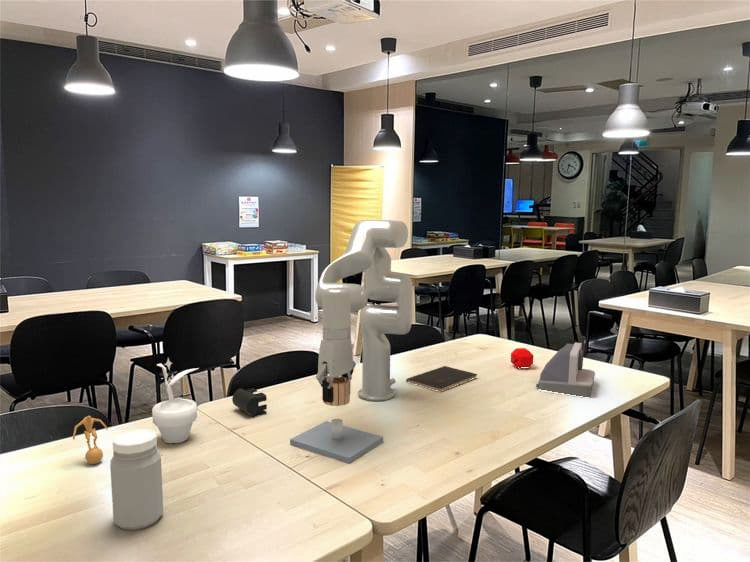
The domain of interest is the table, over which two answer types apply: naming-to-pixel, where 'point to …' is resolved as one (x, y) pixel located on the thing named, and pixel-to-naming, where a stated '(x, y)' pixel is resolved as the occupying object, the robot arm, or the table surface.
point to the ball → (522, 357)
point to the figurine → (94, 453)
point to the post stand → (337, 441)
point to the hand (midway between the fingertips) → (336, 397)
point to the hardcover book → (441, 378)
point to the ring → (340, 391)
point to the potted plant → (174, 412)
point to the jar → (136, 479)
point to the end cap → (250, 401)
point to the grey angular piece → (567, 373)
